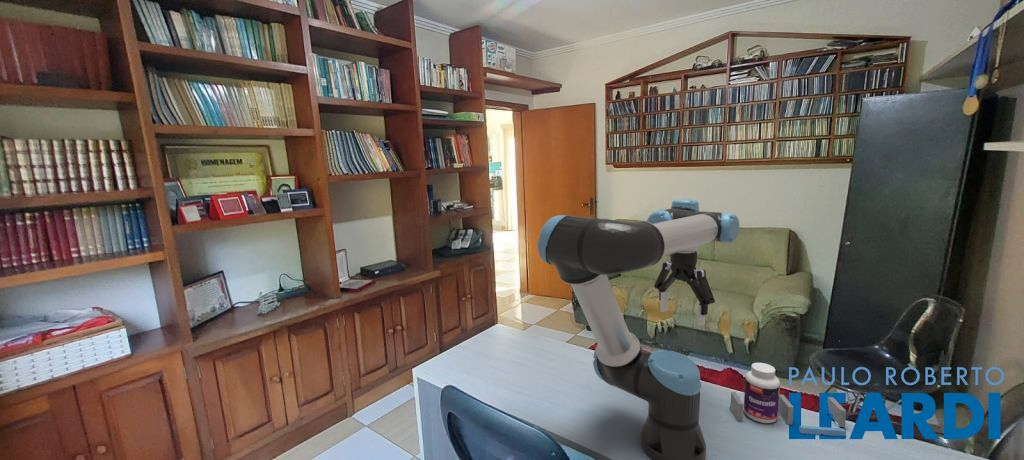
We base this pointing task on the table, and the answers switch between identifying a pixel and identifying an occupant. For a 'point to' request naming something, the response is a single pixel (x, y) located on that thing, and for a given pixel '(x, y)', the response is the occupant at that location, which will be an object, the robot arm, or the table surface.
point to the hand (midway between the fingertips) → (681, 317)
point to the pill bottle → (761, 393)
